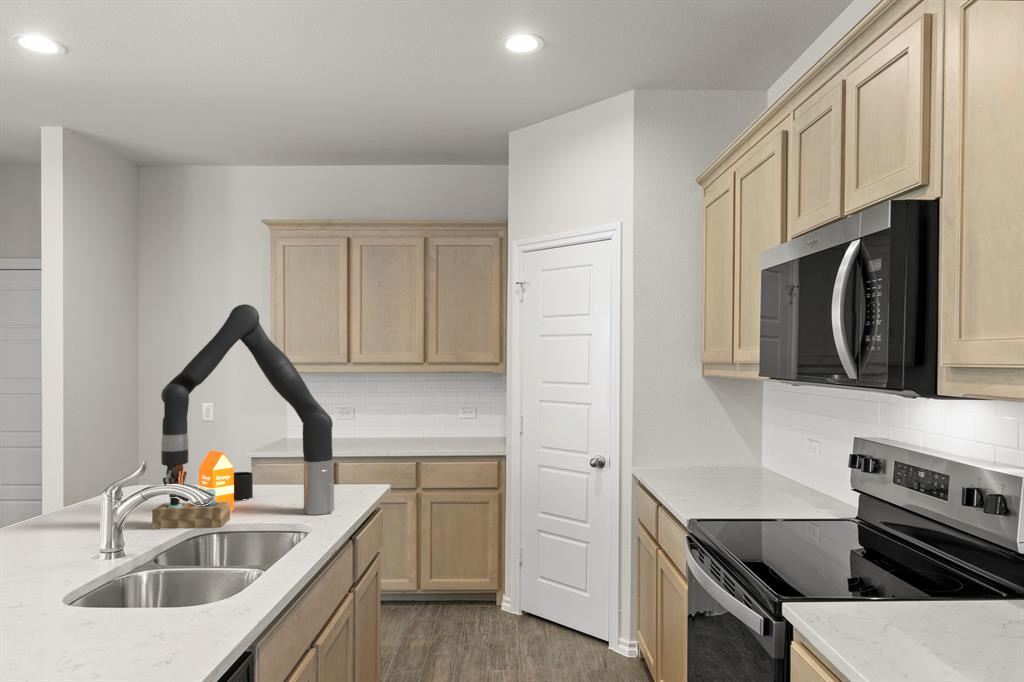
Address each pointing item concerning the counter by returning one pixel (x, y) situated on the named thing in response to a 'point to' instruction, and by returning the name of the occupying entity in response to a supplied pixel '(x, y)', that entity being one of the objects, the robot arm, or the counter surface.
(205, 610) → the counter surface
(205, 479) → the orange juice
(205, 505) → the peg
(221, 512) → the oak block
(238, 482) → the black cylinder
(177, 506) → the peg
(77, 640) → the counter surface
